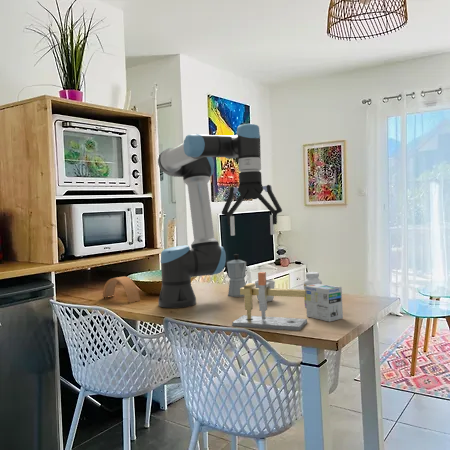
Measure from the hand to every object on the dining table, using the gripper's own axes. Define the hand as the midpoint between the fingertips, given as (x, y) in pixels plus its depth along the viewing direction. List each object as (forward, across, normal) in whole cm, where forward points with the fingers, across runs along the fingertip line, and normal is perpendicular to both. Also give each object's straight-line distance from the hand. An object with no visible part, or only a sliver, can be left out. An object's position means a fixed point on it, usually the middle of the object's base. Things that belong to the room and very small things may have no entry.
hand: (252, 235), depth 154 cm
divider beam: (+27, +6, -4) cm, 28 cm away
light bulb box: (+29, +22, +6) cm, 37 cm away
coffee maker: (+29, -18, +43) cm, 55 cm away
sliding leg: (+27, +4, -3) cm, 28 cm away
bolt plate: (+29, +6, -5) cm, 30 cm away
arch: (+29, -67, +30) cm, 78 cm away
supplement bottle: (+29, +18, +21) cm, 40 cm away
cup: (+29, -2, +30) cm, 42 cm away
